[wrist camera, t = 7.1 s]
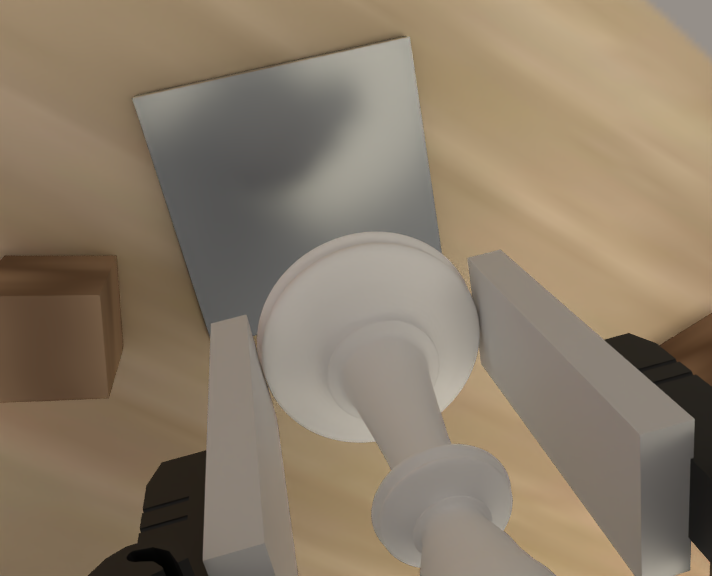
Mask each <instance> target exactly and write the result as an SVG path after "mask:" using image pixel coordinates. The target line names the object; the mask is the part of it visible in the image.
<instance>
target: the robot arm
mask: <svg viewBox="0 0 712 576" xmlns="http://www.w3.org/2000/svg"><path fill="white" fill-rule="evenodd" d="M467 259H468V266H469V274H470V282H471V289H472V297H473V301H474V303H475V306H476V310H477V314H478V319H479V328H480V338H479V351H480V359H481V364H482V366H483V367H484V368H485V370H486V371H487V372H488V374H489V375H490V377H491V378H492V379H493V381H494V382H495V384H496V385H497V386H498V388H499V389H500V390H501V392H502V393H503V395H504V396H505V397H506V399H507V400H508V401H509V403H510V404H511V406H512V407H513V408H514V410H515V411H516V412H517V414H518V415H519V417H520V418H521V419H522V421H523V422H524V424H525V425H526V426H527V428H528V429H529V430H530V432H531V433H532V435H533V436H534V437H535V439H536V440H537V441H538V443H539V444H540V446H541V447H542V448H543V450H544V451H545V452H546V454H547V455H548V457H549V458H550V459H551V461H552V462H553V464H554V465H555V466H556V468H557V469H558V470H559V472H560V473H561V475H562V476H563V477H564V479H565V480H566V481H567V483H568V484H569V486H570V487H571V488H572V490H573V491H574V492H575V494H576V495H577V497H578V498H579V499H580V501H581V502H582V503H583V505H584V506H585V508H586V509H587V510H588V512H589V513H590V515H591V516H592V517H593V519H594V520H595V521H596V523H597V524H598V526H599V527H600V528H601V530H602V531H603V532H604V534H605V535H606V537H607V538H608V539H609V541H610V542H611V543H612V545H613V546H614V548H615V549H616V550H617V552H618V553H619V555H620V556H621V557H622V559H623V560H624V561H625V563H626V564H627V566H628V567H629V568H630V570H631V571H632V572H633V574H634V575H635V576H674V575H677V574H680V573H684V572H687V571H690V558H691V541H692V542H693V543H694V544H695V545H696V547H697V548H698V549H699V550H700V551H701V552H702V553H703V554H704V556H705V557H706V558H707V559H708V560H709V561H710V576H712V386H711V385H709V384H708V383H707V382H705V381H704V380H703V379H702V378H700V377H699V376H698V375H693V373H692V371H691V370H690V369H689V368H687V367H686V366H685V365H683V364H682V363H681V362H677V361H676V358H674V357H673V356H672V355H671V354H669V353H668V352H667V351H665V350H664V349H663V348H662V347H660V346H659V345H658V344H656V343H654V342H651V341H648V340H646V339H643V338H640V337H638V336H635V335H632V334H630V333H627V334H624V335H620V336H616V337H613V338H609V339H605V340H603V339H602V338H601V337H600V336H599V335H598V334H597V333H595V332H594V331H593V330H592V329H591V328H590V327H589V326H587V325H586V324H585V323H584V322H583V321H582V320H581V319H579V318H578V317H577V316H576V315H575V314H574V313H572V312H571V311H570V310H569V309H568V308H567V307H566V306H564V305H563V304H562V303H561V302H560V301H559V300H558V299H556V298H555V297H554V296H553V295H552V294H551V293H550V292H548V291H547V290H546V289H545V288H544V287H543V286H542V285H540V284H539V283H538V282H537V281H536V280H535V279H533V278H532V277H531V276H530V275H529V274H528V273H527V272H525V271H524V270H523V269H522V268H521V267H520V266H519V265H517V264H516V263H515V262H514V261H513V260H512V259H511V258H509V257H508V256H507V255H506V254H505V253H504V252H503V251H501V250H497V251H493V252H489V253H485V254H481V255H477V256H473V257H469V258H467ZM143 512H144V513H143V514H142V518H141V524H140V531H141V533H139V537H138V543H136V544H133V545H130V546H127V547H125V548H123V549H121V550H120V551H118V552H116V553H115V554H113V555H111V556H110V557H108V558H106V559H105V560H104V561H103V562H102V563H101V564H100V565H99V566H98V567H97V568H95V569H94V570H93V571H92V572H91V573H90V574H89V575H88V576H298V570H297V563H296V555H295V548H294V541H293V533H292V526H291V518H290V511H289V503H288V496H287V489H286V481H285V474H284V466H283V459H282V451H281V444H280V436H279V429H278V422H277V417H276V413H275V410H274V407H273V403H272V400H271V396H270V393H269V390H268V386H267V383H266V380H265V376H264V373H263V369H262V366H261V363H260V359H259V356H258V352H257V349H256V346H255V342H254V339H253V335H252V332H251V329H250V325H249V322H248V318H247V315H242V316H239V317H235V318H231V319H227V320H223V321H219V322H215V323H211V335H210V364H209V393H208V421H207V450H206V451H202V452H199V453H195V454H191V455H188V456H184V457H180V458H177V459H173V460H169V461H166V462H162V463H161V465H160V466H159V468H158V469H157V471H156V472H155V474H154V475H153V477H152V478H151V480H150V481H149V483H148V484H147V486H146V492H145V499H144V505H143Z"/></svg>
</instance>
